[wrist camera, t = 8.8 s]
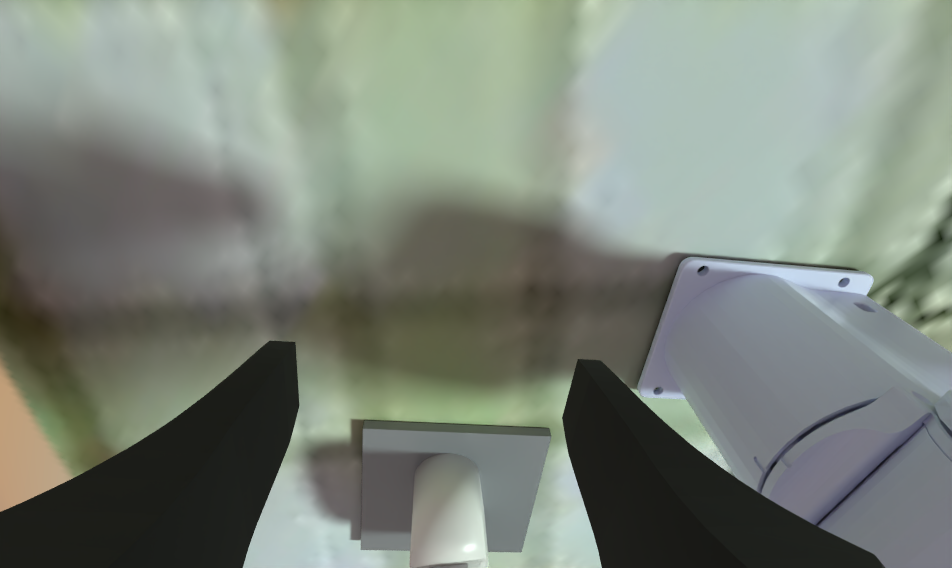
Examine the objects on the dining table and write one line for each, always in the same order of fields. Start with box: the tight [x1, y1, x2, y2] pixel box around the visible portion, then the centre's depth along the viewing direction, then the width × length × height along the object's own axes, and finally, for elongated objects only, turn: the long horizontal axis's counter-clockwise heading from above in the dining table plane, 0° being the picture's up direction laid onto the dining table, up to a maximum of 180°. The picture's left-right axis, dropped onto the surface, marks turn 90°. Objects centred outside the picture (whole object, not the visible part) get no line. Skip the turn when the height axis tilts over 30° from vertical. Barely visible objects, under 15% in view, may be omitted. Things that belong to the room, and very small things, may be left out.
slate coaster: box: [361, 420, 551, 552], centre depth 29 cm, size 10×10×1 cm
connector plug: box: [410, 453, 489, 568], centre depth 26 cm, size 4×7×6 cm, turn 6°
